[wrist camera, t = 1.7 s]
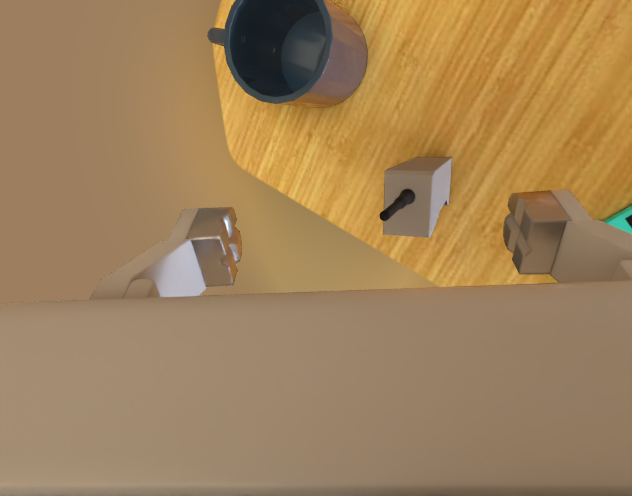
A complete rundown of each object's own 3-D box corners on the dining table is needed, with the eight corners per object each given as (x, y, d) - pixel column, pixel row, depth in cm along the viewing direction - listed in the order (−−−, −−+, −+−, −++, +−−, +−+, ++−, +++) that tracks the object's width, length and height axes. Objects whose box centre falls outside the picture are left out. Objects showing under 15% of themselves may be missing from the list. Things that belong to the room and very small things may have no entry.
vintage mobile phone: (414, 202, 51) (352, 263, 28) (416, 156, 50) (353, 182, 27) (449, 203, 50) (413, 269, 27) (452, 157, 48) (417, 184, 26)
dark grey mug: (376, 12, 47) (341, -22, 37) (357, 114, 51) (321, 111, 40) (260, 0, 51) (198, -34, 41) (250, 96, 55) (190, 88, 44)
